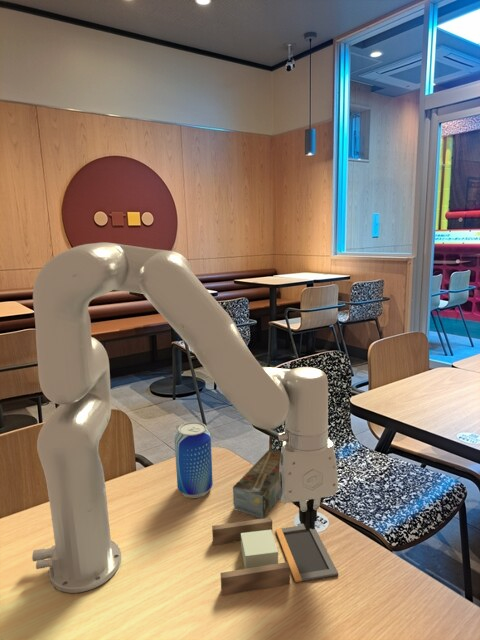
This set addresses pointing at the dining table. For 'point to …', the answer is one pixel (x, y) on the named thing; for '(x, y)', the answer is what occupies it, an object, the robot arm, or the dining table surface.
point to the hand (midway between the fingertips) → (308, 524)
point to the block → (258, 549)
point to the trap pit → (305, 554)
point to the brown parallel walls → (250, 576)
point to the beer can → (193, 459)
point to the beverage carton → (259, 486)
